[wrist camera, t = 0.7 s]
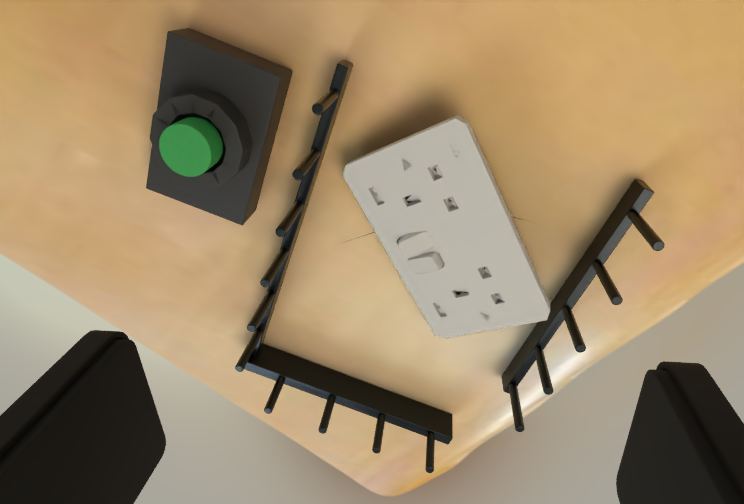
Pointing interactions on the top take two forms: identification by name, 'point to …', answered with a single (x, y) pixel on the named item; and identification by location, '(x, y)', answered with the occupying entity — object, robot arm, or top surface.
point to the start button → (191, 146)
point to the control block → (218, 120)
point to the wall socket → (448, 231)
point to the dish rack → (386, 402)
